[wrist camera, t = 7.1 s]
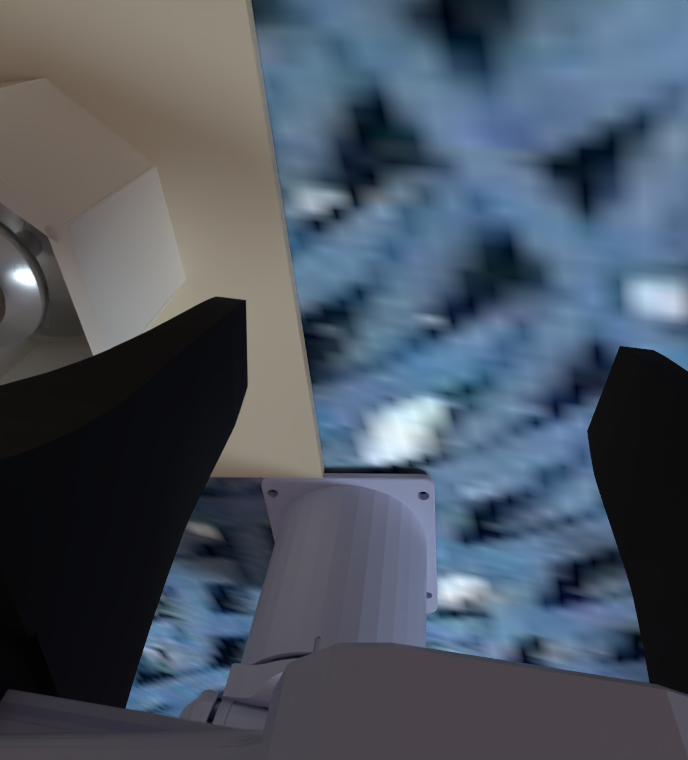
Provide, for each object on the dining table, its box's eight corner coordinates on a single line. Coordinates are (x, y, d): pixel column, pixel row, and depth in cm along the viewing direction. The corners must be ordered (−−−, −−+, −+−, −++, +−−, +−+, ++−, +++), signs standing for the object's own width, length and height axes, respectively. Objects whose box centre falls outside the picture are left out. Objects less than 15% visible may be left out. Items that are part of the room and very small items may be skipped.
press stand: (324, 469, 28) (297, 589, 22) (-22, 466, 31) (-122, 572, 25) (208, -270, 15) (75, -418, 9) (-375, -153, 18) (-740, -215, 12)
